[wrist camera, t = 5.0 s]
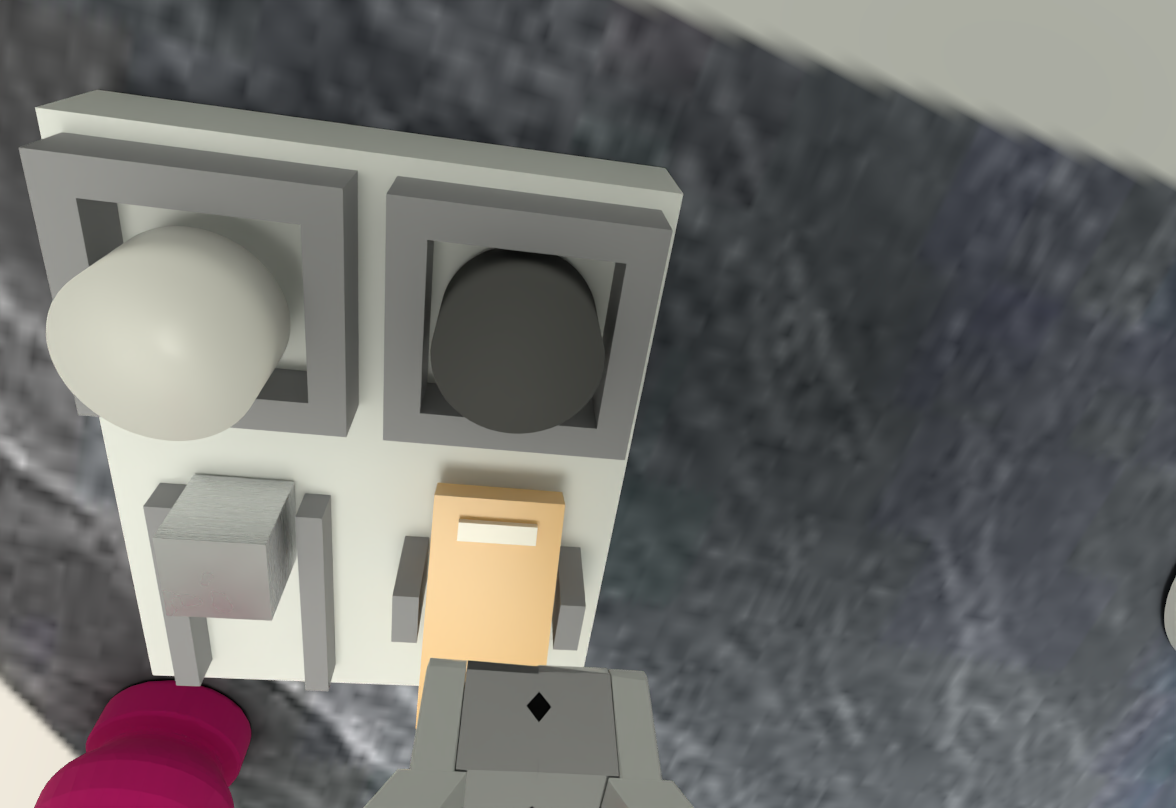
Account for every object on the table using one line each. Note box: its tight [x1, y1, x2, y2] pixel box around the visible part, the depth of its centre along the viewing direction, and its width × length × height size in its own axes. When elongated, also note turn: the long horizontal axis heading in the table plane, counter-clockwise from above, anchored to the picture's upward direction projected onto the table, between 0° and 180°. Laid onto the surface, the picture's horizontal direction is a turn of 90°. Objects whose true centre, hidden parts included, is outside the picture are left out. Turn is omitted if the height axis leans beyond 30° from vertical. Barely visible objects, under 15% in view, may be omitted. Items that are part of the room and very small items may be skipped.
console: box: [19, 90, 683, 691], centre depth 24 cm, size 16×20×6 cm
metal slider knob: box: [152, 474, 297, 621], centre depth 23 cm, size 3×3×3 cm
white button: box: [46, 226, 290, 441], centre depth 18 cm, size 4×4×2 cm
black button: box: [430, 248, 605, 434], centre depth 20 cm, size 4×4×2 cm
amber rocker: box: [416, 483, 565, 728], centre depth 24 cm, size 4×8×2 cm, turn 171°
